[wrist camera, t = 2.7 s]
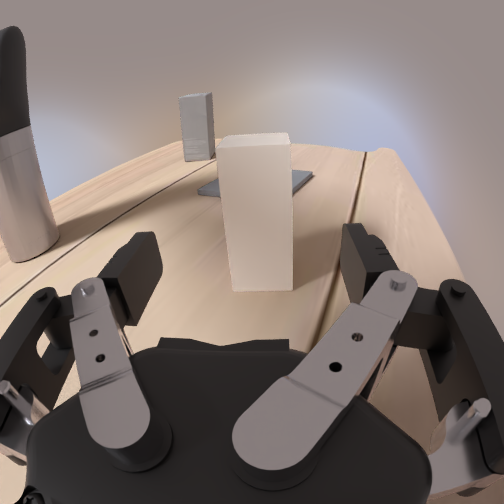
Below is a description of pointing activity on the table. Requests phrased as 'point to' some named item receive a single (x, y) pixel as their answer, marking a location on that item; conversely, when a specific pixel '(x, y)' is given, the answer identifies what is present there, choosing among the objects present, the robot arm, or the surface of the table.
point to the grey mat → (297, 182)
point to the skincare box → (197, 126)
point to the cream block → (257, 210)
